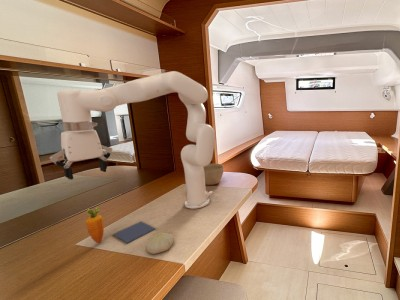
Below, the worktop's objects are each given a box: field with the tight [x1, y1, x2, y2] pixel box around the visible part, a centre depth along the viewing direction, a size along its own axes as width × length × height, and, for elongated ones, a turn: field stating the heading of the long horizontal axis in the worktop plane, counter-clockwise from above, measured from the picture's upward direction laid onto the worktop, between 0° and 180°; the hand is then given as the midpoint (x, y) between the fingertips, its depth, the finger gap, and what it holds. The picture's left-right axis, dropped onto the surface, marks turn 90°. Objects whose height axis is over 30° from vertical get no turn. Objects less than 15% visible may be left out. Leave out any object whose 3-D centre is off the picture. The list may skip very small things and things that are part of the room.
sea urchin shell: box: [144, 232, 174, 255], centre depth 80 cm, size 9×8×8 cm
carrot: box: [85, 206, 105, 245], centre depth 81 cm, size 5×5×15 cm
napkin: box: [113, 221, 156, 244], centre depth 90 cm, size 11×11×1 cm
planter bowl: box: [203, 163, 225, 186], centre depth 144 cm, size 16×16×11 cm
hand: (87, 174), depth 78 cm, fingers open, 9 cm apart
